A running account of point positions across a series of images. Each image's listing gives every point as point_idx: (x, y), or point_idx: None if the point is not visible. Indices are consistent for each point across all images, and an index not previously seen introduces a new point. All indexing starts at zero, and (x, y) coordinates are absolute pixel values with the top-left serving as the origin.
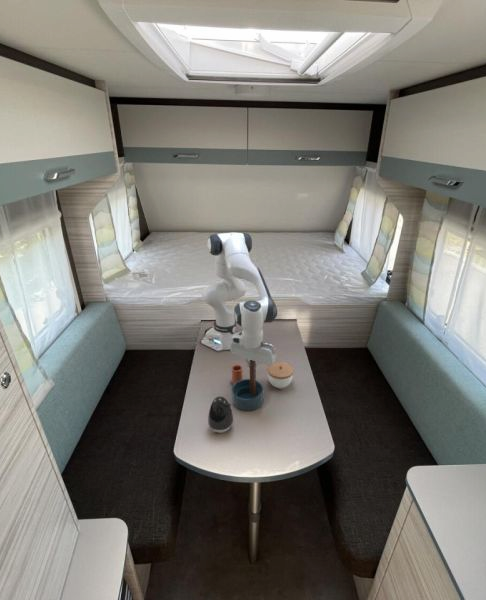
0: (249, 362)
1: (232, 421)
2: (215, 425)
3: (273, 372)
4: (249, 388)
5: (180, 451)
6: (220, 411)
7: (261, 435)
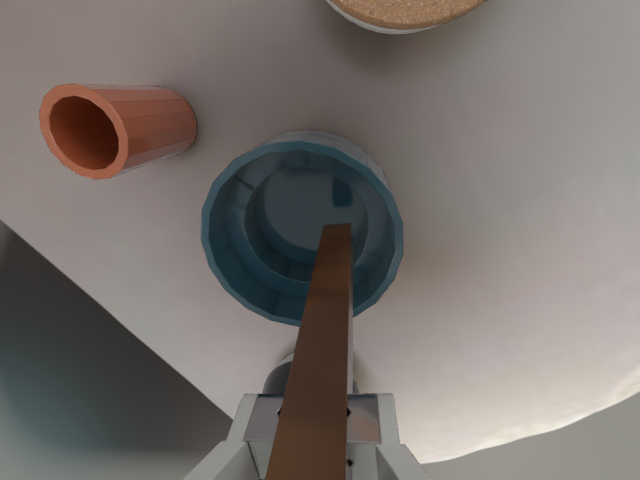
0: (253, 456)
1: (358, 393)
2: None
3: None
4: (276, 172)
5: None
6: None
7: (469, 336)
